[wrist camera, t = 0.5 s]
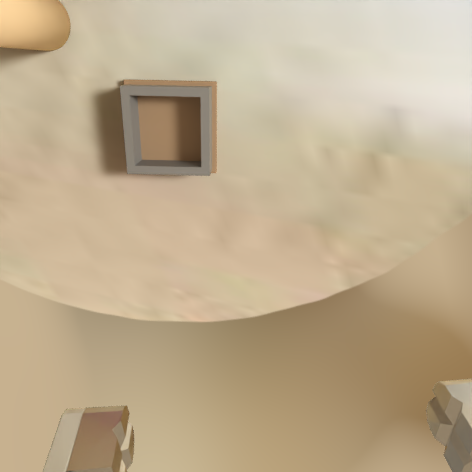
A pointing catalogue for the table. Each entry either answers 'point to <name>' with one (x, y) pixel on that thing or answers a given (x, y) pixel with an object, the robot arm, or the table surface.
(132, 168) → the roll holder
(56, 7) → the tan rounded cylinder
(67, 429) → the robot arm
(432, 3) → the table surface
